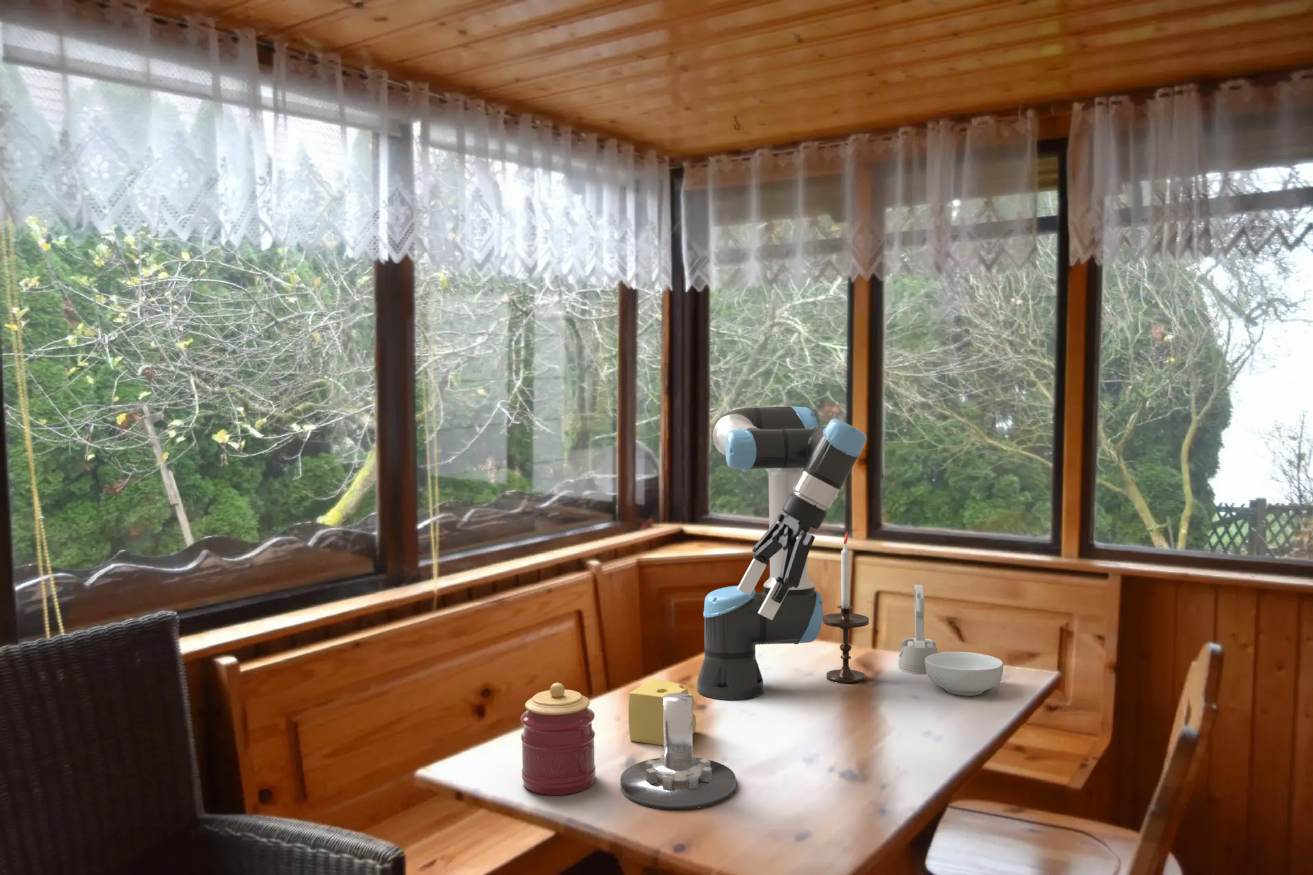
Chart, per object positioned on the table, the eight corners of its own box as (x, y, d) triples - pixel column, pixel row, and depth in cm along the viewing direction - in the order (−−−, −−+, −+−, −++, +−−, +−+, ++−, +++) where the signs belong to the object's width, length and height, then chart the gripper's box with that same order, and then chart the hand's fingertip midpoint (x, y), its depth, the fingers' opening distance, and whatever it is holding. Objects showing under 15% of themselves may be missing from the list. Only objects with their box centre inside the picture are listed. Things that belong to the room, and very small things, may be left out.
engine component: (899, 673, 241) (942, 675, 239) (899, 589, 240) (942, 590, 238) (897, 661, 252) (938, 663, 250) (897, 580, 251) (938, 581, 249)
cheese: (696, 732, 202) (695, 682, 201) (674, 749, 192) (674, 698, 192) (649, 725, 206) (649, 677, 206) (626, 742, 196) (625, 691, 196)
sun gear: (634, 770, 177) (633, 692, 176) (693, 760, 182) (692, 683, 181) (662, 794, 166) (661, 711, 166) (723, 782, 171) (723, 701, 170)
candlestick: (851, 669, 245) (851, 527, 243) (878, 681, 235) (878, 532, 233) (813, 675, 241) (812, 530, 239) (839, 687, 231) (838, 536, 229)
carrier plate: (603, 775, 179) (603, 767, 179) (703, 757, 187) (702, 749, 187) (649, 818, 161) (648, 808, 161) (757, 796, 169) (757, 786, 169)
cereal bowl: (1011, 686, 230) (1011, 656, 229) (992, 706, 215) (992, 673, 215) (937, 676, 239) (937, 646, 238) (915, 694, 225) (915, 663, 224)
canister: (528, 768, 183) (526, 672, 182) (599, 768, 183) (597, 672, 182) (516, 796, 170) (514, 694, 169) (592, 796, 170) (590, 694, 169)
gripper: (853, 527, 170) (793, 636, 171) (803, 494, 194) (751, 590, 195) (816, 508, 168) (756, 618, 169) (771, 478, 192) (719, 574, 193)
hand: (753, 603), depth 182 cm, fingers open, 13 cm apart
